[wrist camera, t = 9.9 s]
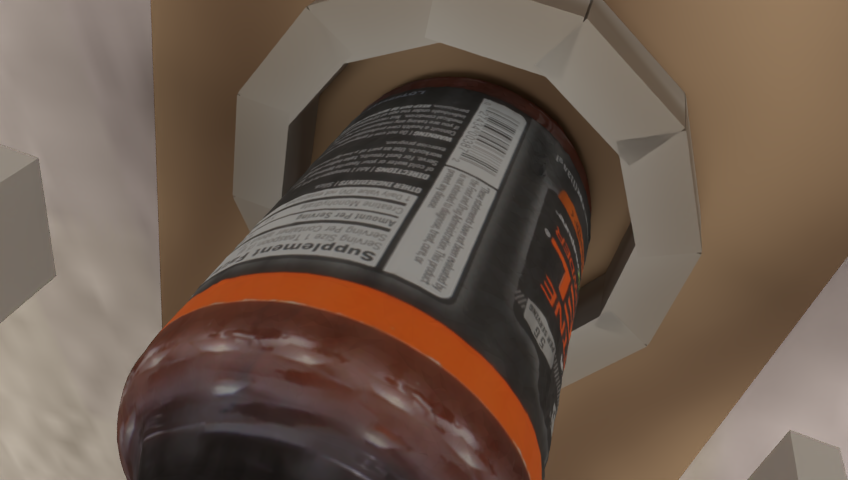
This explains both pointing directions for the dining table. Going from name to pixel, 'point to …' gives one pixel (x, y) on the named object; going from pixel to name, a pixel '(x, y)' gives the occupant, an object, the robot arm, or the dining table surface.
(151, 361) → the supplement bottle
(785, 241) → the ring board
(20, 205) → the robot arm
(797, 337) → the dining table surface
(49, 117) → the dining table surface
